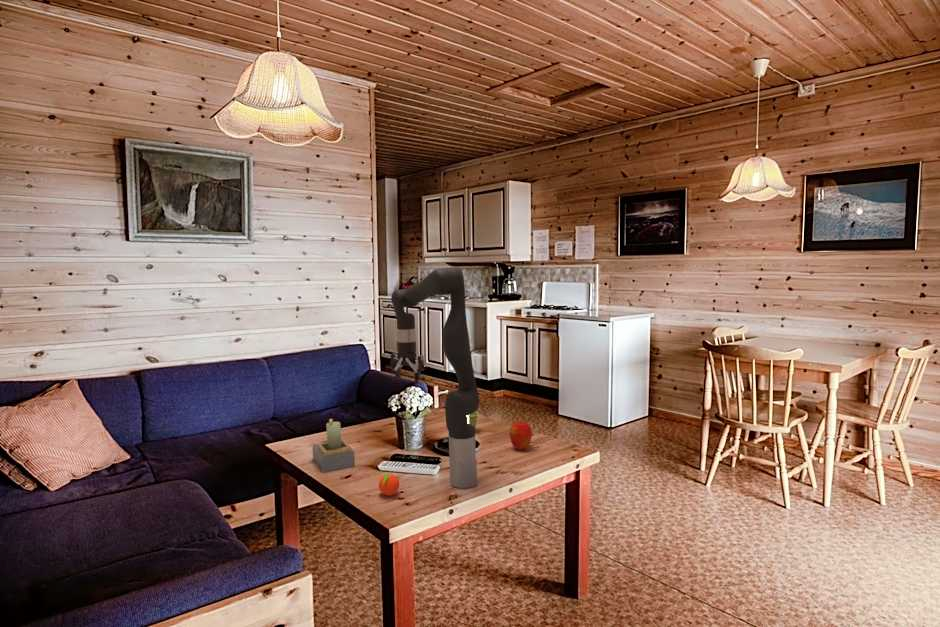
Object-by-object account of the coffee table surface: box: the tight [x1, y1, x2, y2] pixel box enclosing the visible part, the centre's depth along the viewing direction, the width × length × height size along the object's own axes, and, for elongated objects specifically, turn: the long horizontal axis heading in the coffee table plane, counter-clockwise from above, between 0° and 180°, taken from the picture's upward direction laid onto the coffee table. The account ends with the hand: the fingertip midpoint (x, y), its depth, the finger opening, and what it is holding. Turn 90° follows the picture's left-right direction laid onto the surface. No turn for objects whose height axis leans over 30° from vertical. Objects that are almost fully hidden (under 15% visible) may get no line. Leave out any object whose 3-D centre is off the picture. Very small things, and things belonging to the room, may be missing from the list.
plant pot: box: [470, 411, 479, 430], centre depth 254 cm, size 9×9×9 cm
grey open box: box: [311, 439, 356, 474], centre depth 220 cm, size 16×12×8 cm
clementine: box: [378, 473, 400, 497], centre depth 190 cm, size 8×7×7 cm
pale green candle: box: [326, 418, 342, 450], centre depth 218 cm, size 5×5×12 cm
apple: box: [508, 420, 533, 451], centre depth 231 cm, size 9×9×12 cm
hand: (407, 380), depth 225 cm, fingers open, 8 cm apart
